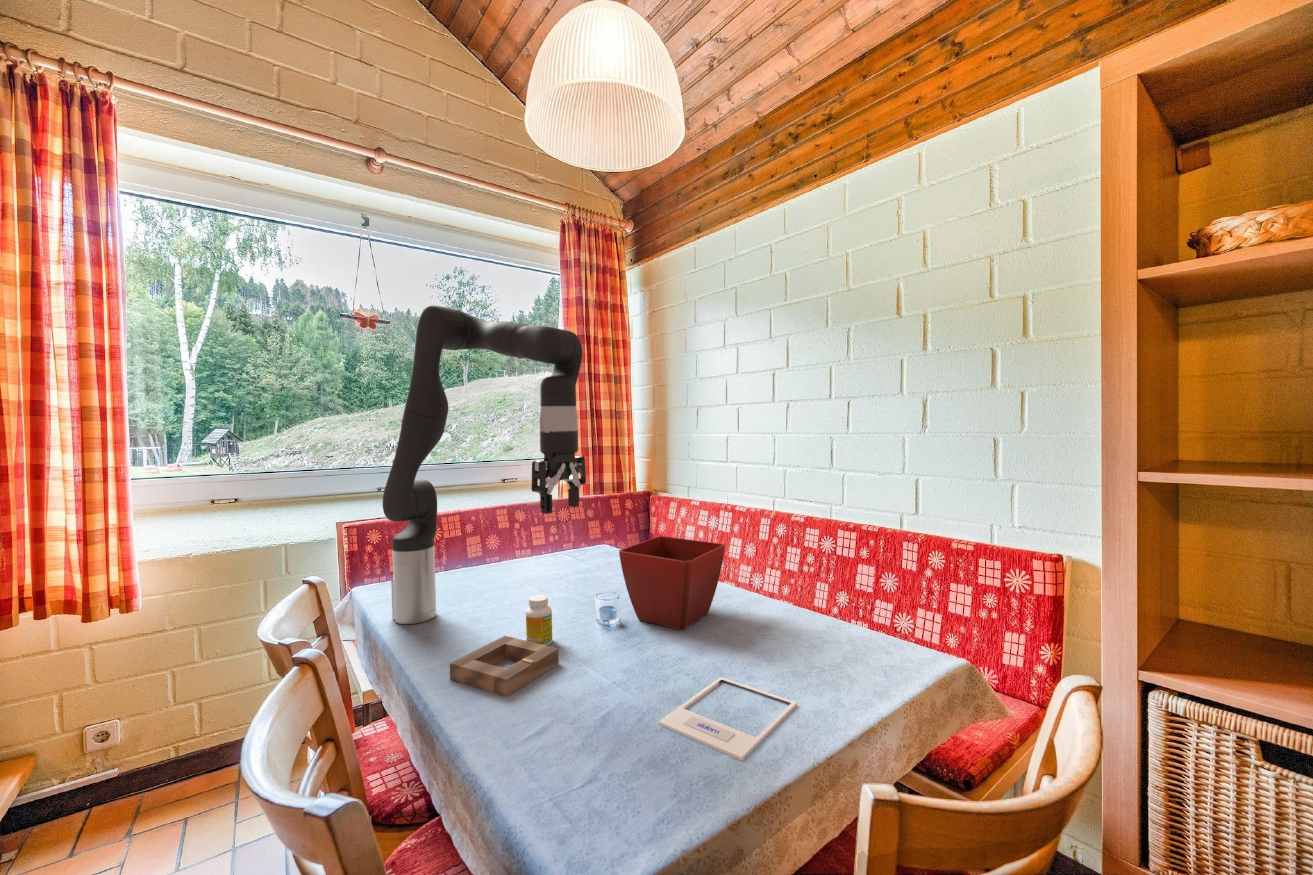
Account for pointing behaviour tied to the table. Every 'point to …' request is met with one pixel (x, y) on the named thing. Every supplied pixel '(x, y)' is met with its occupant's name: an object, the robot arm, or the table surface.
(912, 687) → the table surface
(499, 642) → the socket block
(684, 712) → the photo frame
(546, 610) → the supplement bottle
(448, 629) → the table surface
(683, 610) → the plant pot
